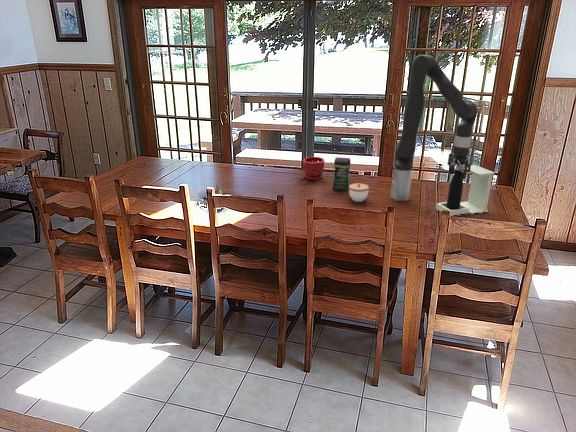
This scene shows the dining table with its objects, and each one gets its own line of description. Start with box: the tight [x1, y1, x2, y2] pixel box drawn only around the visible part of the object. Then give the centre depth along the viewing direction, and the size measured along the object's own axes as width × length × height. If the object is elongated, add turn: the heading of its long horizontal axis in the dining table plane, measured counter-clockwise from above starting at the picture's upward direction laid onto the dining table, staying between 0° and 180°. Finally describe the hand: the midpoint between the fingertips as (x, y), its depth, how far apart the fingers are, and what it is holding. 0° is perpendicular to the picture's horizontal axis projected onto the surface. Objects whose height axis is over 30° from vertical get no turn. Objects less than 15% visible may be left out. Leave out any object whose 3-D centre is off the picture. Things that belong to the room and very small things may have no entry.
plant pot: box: [302, 156, 325, 181], centre depth 282 cm, size 13×13×12 cm
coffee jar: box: [332, 156, 352, 191], centre depth 262 cm, size 10×8×19 cm
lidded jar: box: [348, 182, 370, 203], centre depth 247 cm, size 11×11×9 cm
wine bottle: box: [446, 156, 464, 210], centre depth 227 cm, size 6×6×30 cm
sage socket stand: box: [435, 164, 495, 217], centre depth 230 cm, size 22×14×21 cm, turn 109°
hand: (457, 176), depth 225 cm, fingers open, 8 cm apart
